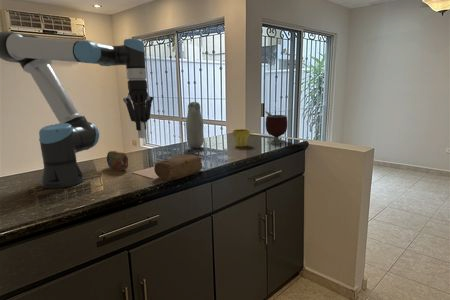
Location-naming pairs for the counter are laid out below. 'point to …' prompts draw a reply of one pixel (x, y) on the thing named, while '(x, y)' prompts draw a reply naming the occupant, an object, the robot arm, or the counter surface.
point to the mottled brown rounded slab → (117, 160)
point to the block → (178, 167)
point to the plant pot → (241, 137)
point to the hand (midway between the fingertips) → (142, 137)
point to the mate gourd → (276, 127)
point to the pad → (147, 173)
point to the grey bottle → (194, 126)
